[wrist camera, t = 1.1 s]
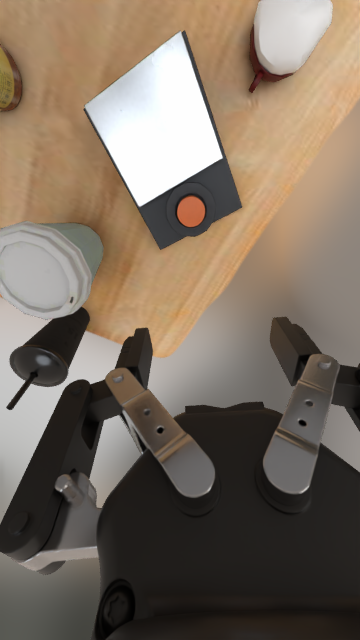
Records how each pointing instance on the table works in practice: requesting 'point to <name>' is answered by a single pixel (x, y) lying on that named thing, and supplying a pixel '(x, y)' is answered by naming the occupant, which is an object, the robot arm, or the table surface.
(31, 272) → the disposable coffee cup
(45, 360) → the drinking cup
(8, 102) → the sauce bottle
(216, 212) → the scale
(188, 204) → the power button
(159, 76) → the weighing plate
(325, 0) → the cocoa
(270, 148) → the table surface
